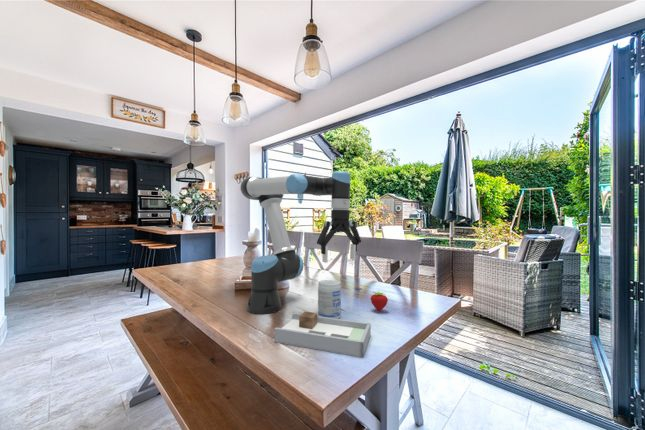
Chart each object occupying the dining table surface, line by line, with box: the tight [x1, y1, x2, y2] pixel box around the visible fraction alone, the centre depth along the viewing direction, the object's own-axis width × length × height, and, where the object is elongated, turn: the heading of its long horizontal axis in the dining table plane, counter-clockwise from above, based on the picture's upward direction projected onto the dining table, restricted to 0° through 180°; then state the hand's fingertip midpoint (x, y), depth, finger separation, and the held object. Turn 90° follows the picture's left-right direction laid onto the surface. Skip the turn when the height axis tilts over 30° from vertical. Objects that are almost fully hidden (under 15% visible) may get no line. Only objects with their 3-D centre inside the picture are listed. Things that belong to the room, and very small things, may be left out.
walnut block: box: [299, 310, 318, 329], centre depth 98 cm, size 5×5×4 cm
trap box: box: [274, 312, 372, 358], centre depth 93 cm, size 30×15×4 cm, turn 71°
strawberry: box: [370, 291, 389, 313], centre depth 119 cm, size 6×8×10 cm
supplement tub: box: [317, 279, 342, 319], centre depth 113 cm, size 10×10×15 cm
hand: (339, 260), depth 111 cm, fingers open, 13 cm apart
